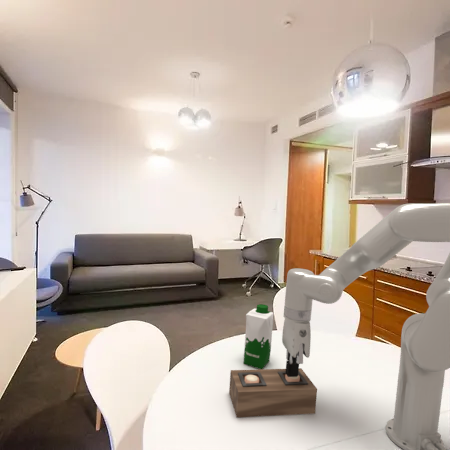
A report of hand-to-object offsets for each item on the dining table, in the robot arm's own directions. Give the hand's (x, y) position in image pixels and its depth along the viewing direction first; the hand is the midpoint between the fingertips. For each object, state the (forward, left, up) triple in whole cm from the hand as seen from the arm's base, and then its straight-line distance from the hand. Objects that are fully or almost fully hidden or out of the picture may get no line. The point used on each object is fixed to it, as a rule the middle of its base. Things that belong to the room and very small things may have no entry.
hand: (291, 375), depth 95 cm
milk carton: (+23, +4, -8) cm, 25 cm away
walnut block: (0, +6, -8) cm, 10 cm away
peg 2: (0, 0, -7) cm, 7 cm away
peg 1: (0, +12, -8) cm, 14 cm away
